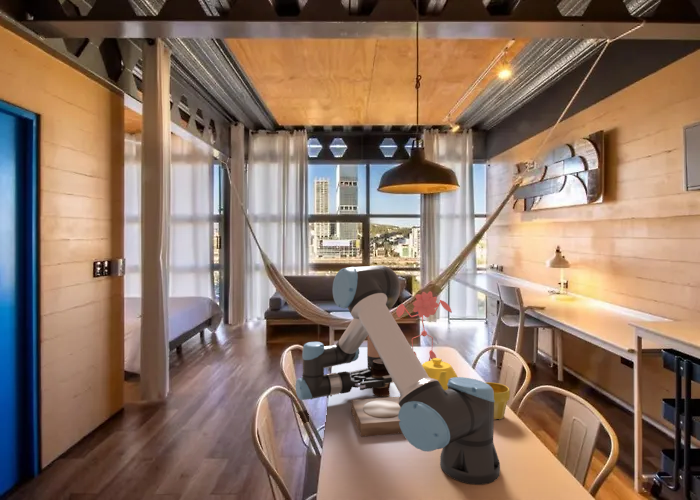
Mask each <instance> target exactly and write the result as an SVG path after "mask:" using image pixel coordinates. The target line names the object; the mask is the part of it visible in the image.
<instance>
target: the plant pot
mask: <svg viewBox="0 0 700 500" xmlns="http://www.w3.org/2000/svg"><path fill="white" fill-rule="evenodd" d="M484 382H485V381H484ZM485 383H487V384H489V385H490V386H491V387H492V389H493V391H494V400H495V402H494V419H499V420H502V419H504V418H505V413H506V408H507V404H508V402H509V400H510V395H511V390H510V388H509V387H508V386H507V385H505V384H503V383H498V382H485Z"/></svg>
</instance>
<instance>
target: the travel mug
mask: <svg viewBox="0 0 700 500" xmlns="http://www.w3.org/2000/svg"><path fill="white" fill-rule="evenodd" d="M366 347H367V349H366V351H367V352H366V353H367V356H366V358H367V361H366V362H367V368H368V370H369V368H371V364H372V363H373V360H376V359H381V358H380V356H379V354H378V352H377V350H376V349H375V347H374V345H373V343H372V341H371V339H370V337H369V336H367V346H366ZM370 378H372V376H371V377H370Z"/></svg>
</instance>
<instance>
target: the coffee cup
mask: <svg viewBox="0 0 700 500" xmlns="http://www.w3.org/2000/svg"><path fill="white" fill-rule="evenodd" d="M371 374H372V377H371V378H383V376H388V375H390V374H389V373H388V371H387V369H386V367H385V365H384V363H383V361H382V360H381V359H376V360H373V363H372V364H371ZM390 387H391V383H388V384H385V387H380V388H372V394H373V396H376V397H378V398H385V397H389V396H390Z"/></svg>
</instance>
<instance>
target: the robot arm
mask: <svg viewBox="0 0 700 500" xmlns="http://www.w3.org/2000/svg"><path fill="white" fill-rule="evenodd" d="M400 293H401V281H400V278H399V276H398V275H397V273H396V272H395V271H394V270H393V269H392V268H390V267H388V266H386V265H379V264H378V265H367V266H350V267H344V268H341V269H339V270H338V271H337V273H336V274H335V275H334V279H333V282H332V297H333V301H334V303H335V305H336V306H337V307H339V308H342V309H343V310H345V309H348V311H349V313H350V316H351V317H352V320H351V321H350V323H349V324H348V326H347V328H346V329H345V330H344V332H343V334H342V335H341V336H340V338H339V340H338V341H337V343H335V344H331V345H330V344H329V345H326V346H325V345H324V343H323V342H320V341H308V342H305V343H304V344H303V347H302V352H301V353H302V354H301V357H302V374H301V376H302V377H299V378H297V379H296V380H295V394H296V396H297V398H298V400H300V401H306V400H307V401H308V400H313V399H319V398H325V397H328V396H329V397H332V396H335V395H339V394H340V395H341V394H347V393H350V392H351V391H352V389H353V388H359V390H360V391H364V390H370V389H373V388H380V387H385V384H388V383H390V384H393V383H394V386H395V387H396V390H397V391H398V392H399V397H400V398H399V402H398V404H399V406H400V407H401V408H400V410H399V414H398V419H399V420H400V422H399V425H400V428H401V431H402V433H401V434H402V435H403V437H405V439H406V441H407V442H408V443H409V444H410V445H412V447H414V448H416V449H417V450H420V451H422V452H432V451H436V450H440V449H441V452H440V456H439V457H440V459H439V461H440V463H439V465H440V468H441V470H442V471H443V472H444V474H446V475H447V476H449V477H450V478H451V479H453V480H455V481H458V482H461V483H464V484H469V485H487V484H490V483H493V482H495V481H496V480H498V479H499V477H500V475H501V464H500V459H499V456H498V453H497V450H496V447H495V443H494V425H495V424H494V423H495V420H494V402H495V400H494V391H493V389H492V387H491V386H490V385H489V384H487V383H485V381H481V380H478V379H476V378H470V377H463V376H462V377H461V376H457V377H454V378H450V379H449V380H448V384H447V386H448V389H447V390H444V389H443V388H442V386H441V384H440V383H439V381H438V380H436V379H432V378H430V377H429V376H428V374H427V373H426V371H425V369H424V368H423V366H422V364H423V363H421V361H420V359H419V357H418V355H417V353H416V352H415V351H414V348H413V349H412V345H410V342H409V341H408V340H407V338H406V336H405V334H404V333H403V331H402V330H401V327H400V326H399V325H398V322H397V321H396V319H395V318H394V316H393V314H392V313H391V309H392V308H393V306H394V305H395V304H396V302H397V301H398V298H399V297H400ZM368 336H369V337H370V339H371V341H372V343H373V345H374V347H375V349H376V350H377V352H378V354H379V356H380V358H381V360H382V361H383V363H384V365H385V367H386V369H387V371H388V373H389V374H390V375H388V376H383V378H372V377H371V376H372V374H371V368H369V370H368V367H367V368H362V369H361V368H360V369H358V370H352V371H339V372H332V373H326V374H325V369H326V368H332V367H336V366H340V365H345V364H351V363H352V362H355V361H357V360H358V359H359V355H360V347H361V345H362V344H363V343H364V341H365V340H366V339H367V338H368ZM414 352H415V353H416V354H415V353H414Z"/></svg>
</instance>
